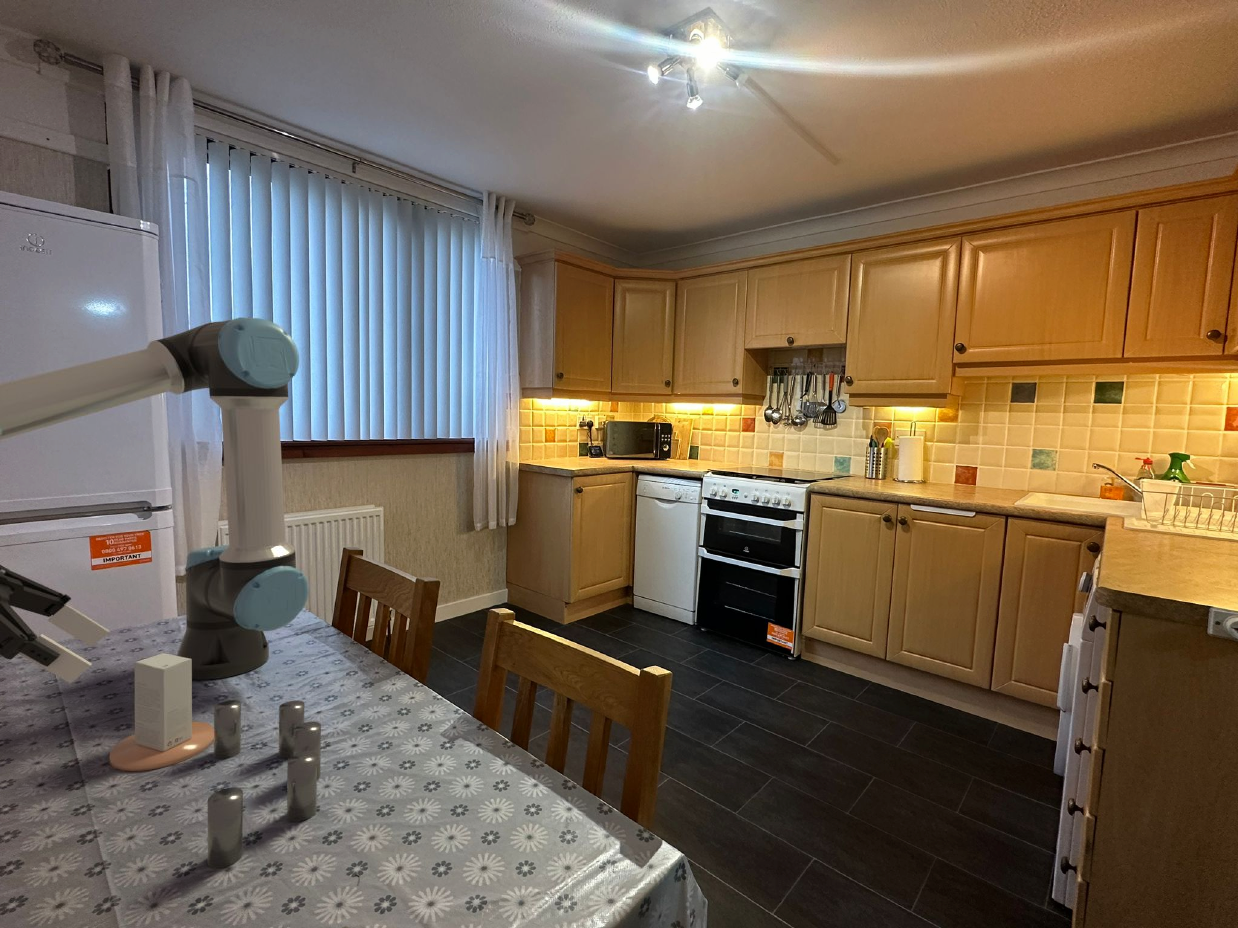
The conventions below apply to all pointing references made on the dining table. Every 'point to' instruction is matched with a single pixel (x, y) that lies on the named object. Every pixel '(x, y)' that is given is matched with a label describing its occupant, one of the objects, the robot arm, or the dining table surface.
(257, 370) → the robot arm
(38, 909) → the dining table surface
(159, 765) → the saucer
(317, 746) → the set of grey cylinders
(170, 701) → the skincare box
